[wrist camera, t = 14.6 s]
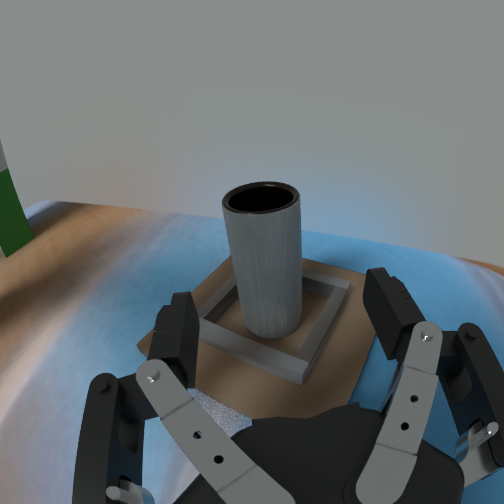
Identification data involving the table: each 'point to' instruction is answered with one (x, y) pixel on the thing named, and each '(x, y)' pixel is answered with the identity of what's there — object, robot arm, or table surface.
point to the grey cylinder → (266, 255)
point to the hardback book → (11, 213)
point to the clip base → (282, 346)
